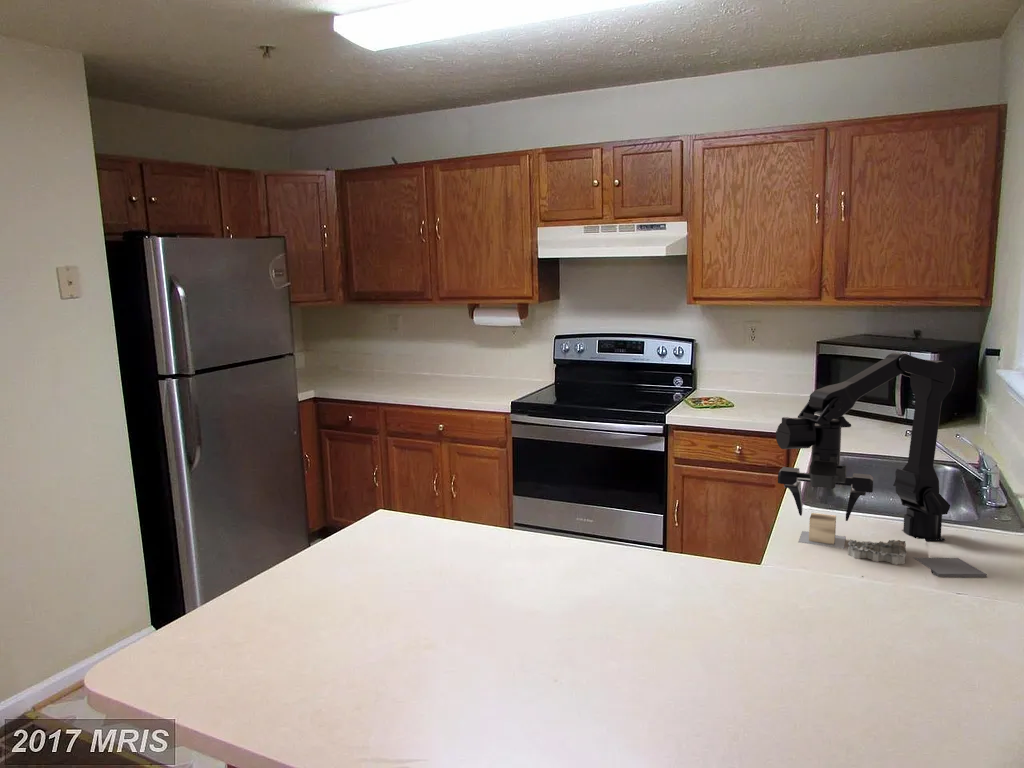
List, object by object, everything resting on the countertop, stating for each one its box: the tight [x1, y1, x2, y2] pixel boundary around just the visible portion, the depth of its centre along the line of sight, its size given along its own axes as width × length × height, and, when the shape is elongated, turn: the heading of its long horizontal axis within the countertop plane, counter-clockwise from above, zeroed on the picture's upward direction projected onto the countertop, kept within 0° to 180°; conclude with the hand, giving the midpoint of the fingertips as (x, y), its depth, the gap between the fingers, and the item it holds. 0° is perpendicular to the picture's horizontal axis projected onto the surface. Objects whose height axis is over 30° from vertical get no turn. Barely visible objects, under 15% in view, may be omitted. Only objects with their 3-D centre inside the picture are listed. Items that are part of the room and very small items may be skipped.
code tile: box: [797, 530, 847, 549], centre depth 153 cm, size 9×9×1 cm
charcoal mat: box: [913, 557, 988, 578], centre depth 137 cm, size 9×9×1 cm
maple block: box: [808, 512, 837, 544], centre depth 153 cm, size 5×5×5 cm
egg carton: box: [847, 539, 908, 566], centre depth 142 cm, size 11×8×4 cm
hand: (823, 517), depth 153 cm, fingers open, 9 cm apart
